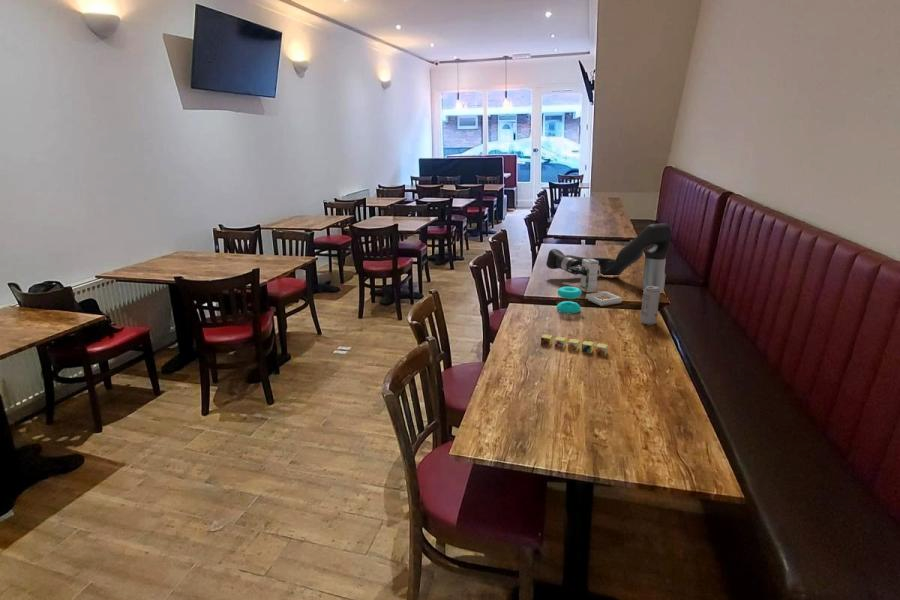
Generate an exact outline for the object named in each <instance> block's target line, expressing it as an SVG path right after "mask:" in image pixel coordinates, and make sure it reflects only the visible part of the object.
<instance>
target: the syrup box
mask: <svg viewBox="0 0 900 600" xmlns="http://www.w3.org/2000/svg"><path fill="white" fill-rule="evenodd" d="M598 262H599V261H596V260H594V259H583V260H582V270H585V271H587V276H584V275H582V274H581V275H580V287H579V289H582V290H583V291H586V292H588V291H589V292H590V291H596V290H597V285H598V284H597V281H598V274H597V273H598V270H599V265H598Z"/></svg>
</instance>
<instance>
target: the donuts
mask: <svg viewBox="0 0 900 600" xmlns="http://www.w3.org/2000/svg"><path fill="white" fill-rule="evenodd" d="M582 293H583V292H582V290H581V288H580V287H579V288H578V287H577V286H576V287H575V286H562V287H559V288H558V290H557V295H558V296H559V297H561V298H563V299H568V300H564V301H561V302H558V304H557V306H556V309H557V311H558V312H559V311H560V313H562V312H563V313H562V314H566V313H574V314H577V312H578V313H579V312H580V311H581V305H580V304H578V302H576V301H575V302H574V301H570V300H571V299H577V298H580V297H581V295H582Z"/></svg>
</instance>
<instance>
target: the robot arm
mask: <svg viewBox="0 0 900 600" xmlns="http://www.w3.org/2000/svg"><path fill="white" fill-rule="evenodd" d="M671 239H672V229H671V227H670V225H669V224H668V223H664V222H662V223H651V224H648V225H647V226H646V227H645V228H644V229H643V230H642V231H641V232H640V233H639V234H638V235H637V236H636V237H634V238H633V239H632V240H631V241H629V243H627V244H626V245H625V246H624V247H622V248H621V249H620V251H619V252H618V254H617V256H616V258H615V259H614V258H610V257H582V256H577V255H569V254H566V255H565V254H564V253H563V252H562V251H561V250H559V249H556V248H553V249H550V250H549V252H548V255H547V260H546V268H548V269H551V270H558V269H561V270H563V271H565V272H567V273H569V274H572V275H575V276H577V275H580V276H581V274H582V275H584V276H587V271H585V270H582V260H583V259H594V260H596V261H599V262H598V267H599V269H598V273H597V275H600V273H601V274H603V275H619V276H620V275H621V274H622V273H623V272H624V271H625V270H626V269H628V268H629V267H630V266H631V265H633V264H634V263H636V262H637V261H639V260H640V259H641V258H642V256H643V255H644V254H645V256H644V261H643V262H644V264H643V265H644V266H643V272H642V273H643V275H642V281H641V282H642V284H641V291H642V290H643V291H644V289H645V288H646V286H657V287H659V291H660V292H662V291H663V292H664V291H665V281H666V277H667V275H666V273H665V270H666V269H665V268H666V260H667V255H668V253H669V250H670V244H671ZM651 245H653V246H652V247H650V248H648V247H649V246H651ZM646 248H648V249H647V250H646V251H645V253H644V249H646ZM664 293H665V292H664Z"/></svg>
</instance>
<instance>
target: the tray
mask: <svg viewBox="0 0 900 600" xmlns="http://www.w3.org/2000/svg"><path fill="white" fill-rule="evenodd" d="M601 296H608V297H610V299H603V300H602V299H599V298H597V297H601ZM586 298H587V299H588V300H587V301H589V302H591V303H592V304H593V303H594V304H596V305H598V306H600V307H604V306H610V305H616V304H617V305H618V304H622V300H623V297H621V296H619V295H616V294H613V293H611V292H608V291H600V292H593V293H586V294H585V299H586Z"/></svg>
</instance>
